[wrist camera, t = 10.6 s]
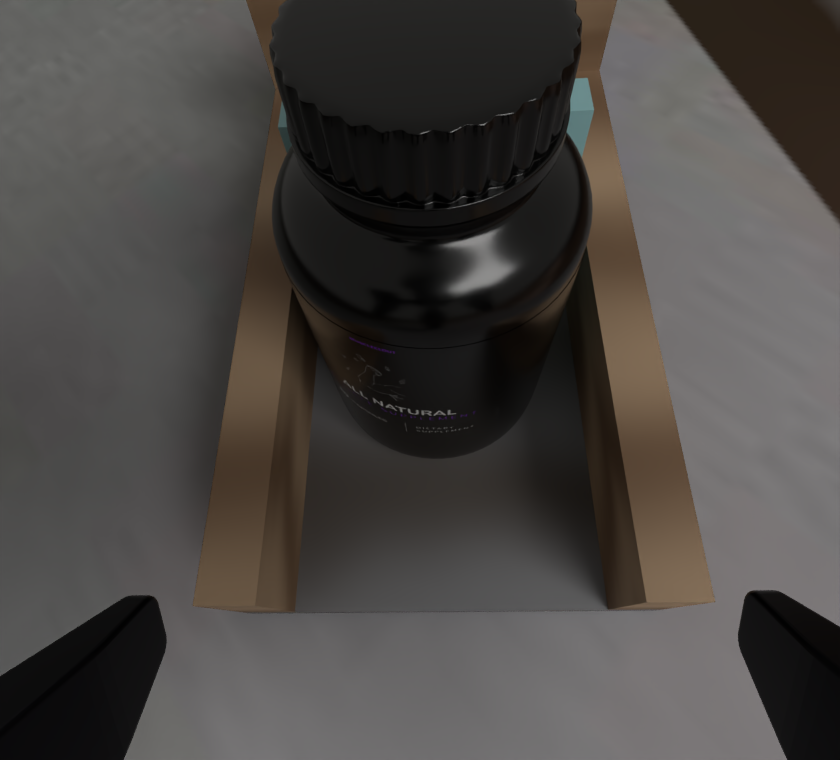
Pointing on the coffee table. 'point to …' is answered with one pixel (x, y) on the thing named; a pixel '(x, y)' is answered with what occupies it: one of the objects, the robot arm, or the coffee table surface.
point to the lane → (465, 475)
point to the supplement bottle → (431, 205)
